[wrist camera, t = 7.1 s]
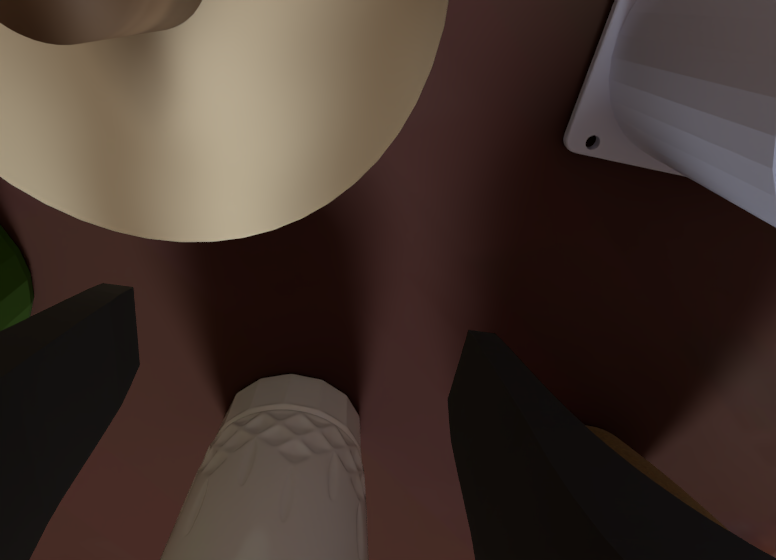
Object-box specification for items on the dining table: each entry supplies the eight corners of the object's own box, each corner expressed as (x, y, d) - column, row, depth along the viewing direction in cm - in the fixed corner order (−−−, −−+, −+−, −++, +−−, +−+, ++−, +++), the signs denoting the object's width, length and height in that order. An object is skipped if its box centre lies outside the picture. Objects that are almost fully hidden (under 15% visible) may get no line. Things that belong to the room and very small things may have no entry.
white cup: (395, 451, 27) (406, 670, 18) (264, 492, 28) (215, 715, 19) (330, 340, 23) (305, 547, 14) (183, 394, 24) (78, 613, 16)
